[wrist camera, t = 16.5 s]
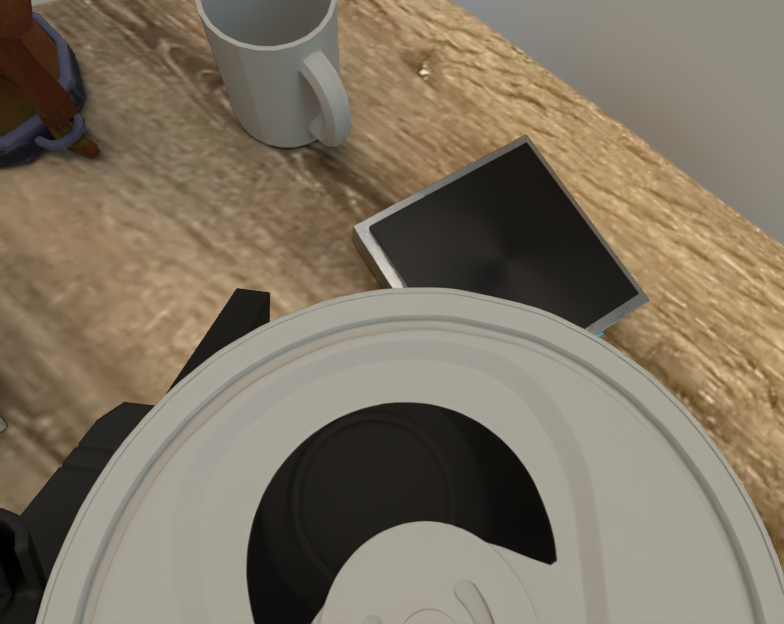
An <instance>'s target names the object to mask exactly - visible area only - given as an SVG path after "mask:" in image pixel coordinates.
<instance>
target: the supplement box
mask: <svg viewBox="0 0 784 624" xmlns="http://www.w3.org/2000/svg"><path fill="white" fill-rule="evenodd" d="M6 427H7V426H6V424H5V422H4V421H3V420H2V418H1V417H0V432H1V431H3V430H4V429H5V428H6Z"/></svg>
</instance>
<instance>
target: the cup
mask: <svg viewBox="0 0 784 624" xmlns="http://www.w3.org/2000/svg"><path fill="white" fill-rule="evenodd" d="M195 2H196V5H197V9H198V12H199V15H200V18H201V21H202V24H203V26H204V29H205V32H206V35H207V38H208V40H209V43H210V46H211V49H212V52H213V54H214V57H215V60H216V63H217V66H218V68H219V71H220V74H221V77H222V80H223V82H224V85H225V88H226V91H227V93H228V96H229V99H230V102H231V105H232V107H233V110H234V113H235V115H236V117H237V119H238V120H239V122H240V124H241V125H242V127H243V128H244V129H245V130H246V131H247V132H248V133H249V134H250V135H251V136H253V137H254V138H255V139H257V140H259V141H261V142H263V143H265V144H268V145H273V146H277V147H298V146H302V145H307V144H309V143H311V142H313V141H315V140H317V139H318V140H319V141H320V142H321V143H323V144H324V145H325V146H329V147H334V146H340V145H341V144H343V143H344V142H345V140H346V138H347V137H348V135H349V133H350V129H351V112H350V106H349V101H348V98H347V95H346V92H345V89H344V86H343V84H342V82H341V80H340V78H339V52H338V26H337V0H195Z"/></svg>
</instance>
